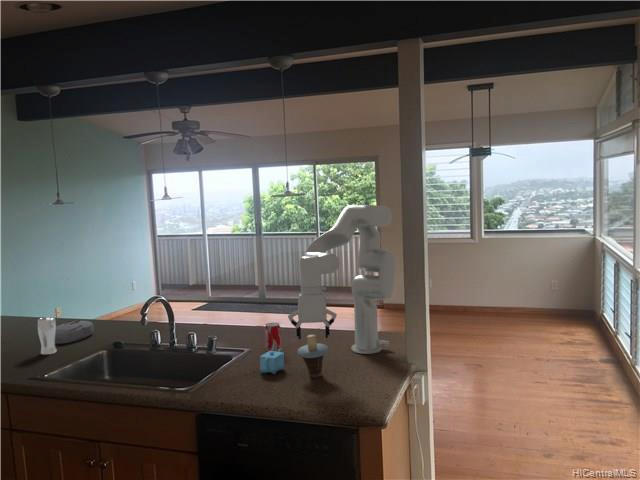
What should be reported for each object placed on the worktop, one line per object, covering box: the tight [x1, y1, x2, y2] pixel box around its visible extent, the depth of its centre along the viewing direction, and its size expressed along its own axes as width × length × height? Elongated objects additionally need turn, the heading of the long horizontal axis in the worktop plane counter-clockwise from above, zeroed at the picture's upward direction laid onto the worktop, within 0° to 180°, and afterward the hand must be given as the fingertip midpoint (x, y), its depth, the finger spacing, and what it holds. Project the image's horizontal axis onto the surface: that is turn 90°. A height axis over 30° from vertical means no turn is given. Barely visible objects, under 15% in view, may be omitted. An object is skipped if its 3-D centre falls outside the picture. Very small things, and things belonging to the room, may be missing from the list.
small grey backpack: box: [55, 319, 95, 345], centre depth 238 cm, size 15×8×20 cm
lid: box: [297, 334, 329, 359], centre depth 178 cm, size 11×11×6 cm
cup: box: [301, 355, 325, 379], centre depth 179 cm, size 8×8×9 cm
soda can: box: [263, 322, 283, 353], centre depth 209 cm, size 7×7×12 cm
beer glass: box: [37, 316, 58, 356], centre depth 216 cm, size 7×7×15 cm
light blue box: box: [259, 348, 285, 375], centre depth 187 cm, size 12×6×8 cm, turn 156°
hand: (313, 337), depth 179 cm, fingers open, 9 cm apart
